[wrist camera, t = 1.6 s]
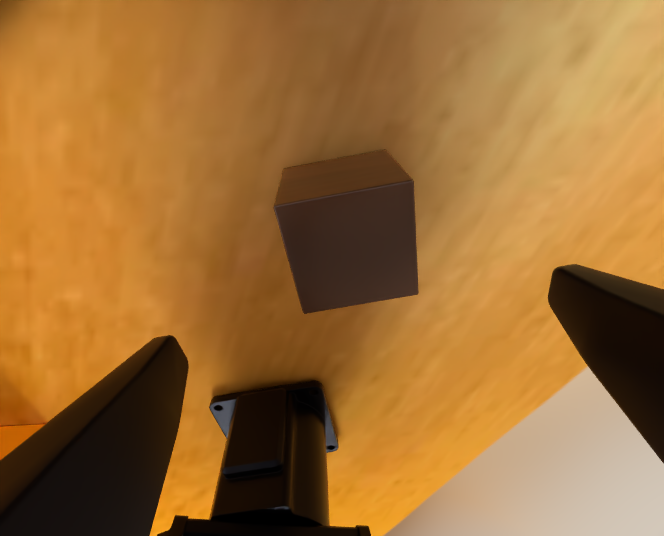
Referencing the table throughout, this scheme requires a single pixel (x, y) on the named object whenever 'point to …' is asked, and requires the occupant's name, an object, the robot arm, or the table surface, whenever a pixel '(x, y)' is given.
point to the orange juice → (15, 436)
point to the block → (349, 230)
